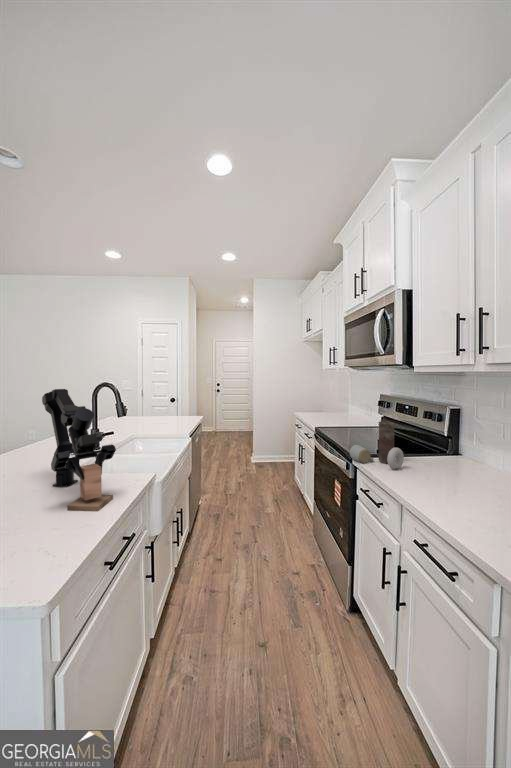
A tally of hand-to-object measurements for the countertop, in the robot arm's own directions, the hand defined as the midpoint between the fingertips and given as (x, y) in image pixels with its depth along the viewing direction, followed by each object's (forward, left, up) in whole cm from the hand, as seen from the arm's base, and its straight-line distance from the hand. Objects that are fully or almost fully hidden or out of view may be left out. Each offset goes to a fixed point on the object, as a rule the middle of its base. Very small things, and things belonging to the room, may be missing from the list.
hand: (92, 477), depth 108 cm
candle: (-60, +116, -10) cm, 131 cm away
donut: (-48, +116, -10) cm, 126 cm away
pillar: (-1, -1, -7) cm, 7 cm away
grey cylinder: (-61, +105, -10) cm, 121 cm away
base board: (-1, -1, -9) cm, 10 cm away
